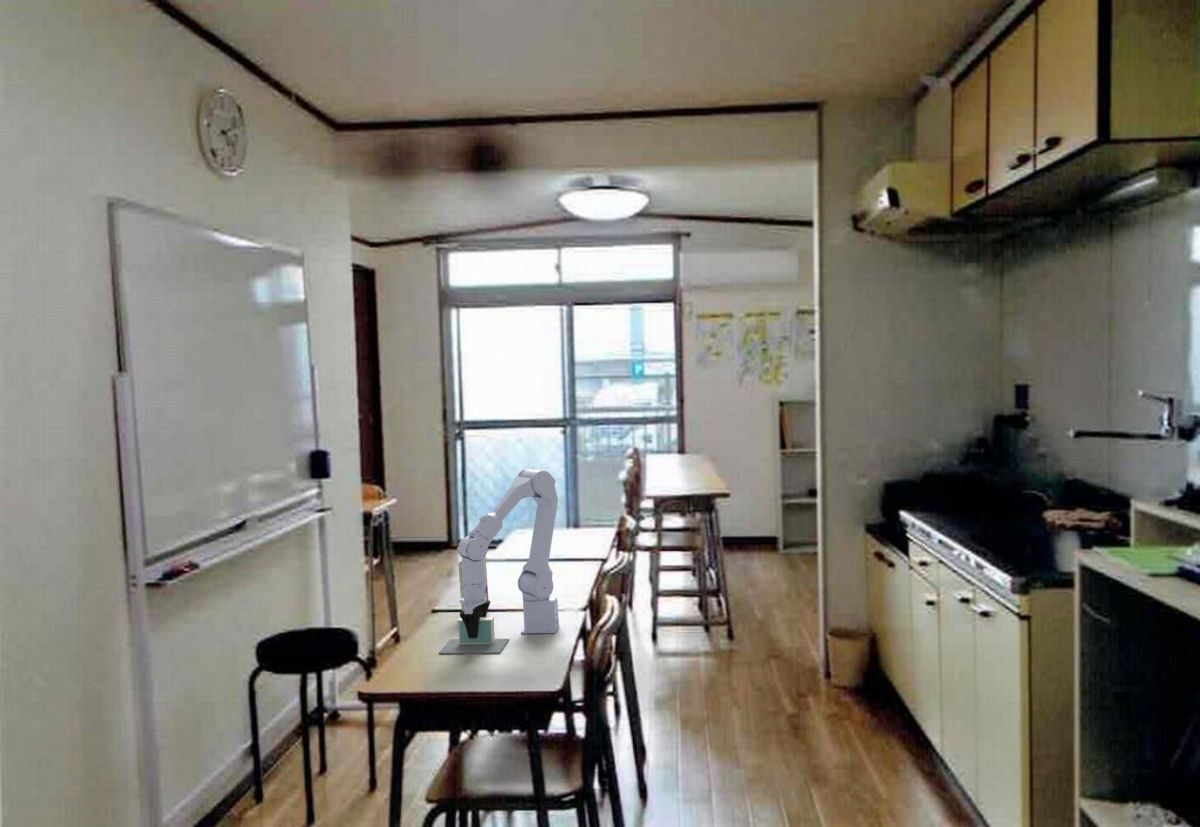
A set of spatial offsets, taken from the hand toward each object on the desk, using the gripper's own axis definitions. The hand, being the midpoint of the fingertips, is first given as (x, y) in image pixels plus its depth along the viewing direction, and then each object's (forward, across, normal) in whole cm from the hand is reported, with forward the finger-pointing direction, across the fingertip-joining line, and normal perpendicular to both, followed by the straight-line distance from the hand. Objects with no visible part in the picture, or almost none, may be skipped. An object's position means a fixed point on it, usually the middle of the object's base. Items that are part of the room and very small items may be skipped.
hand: (476, 633), depth 232 cm
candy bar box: (+3, -30, -8) cm, 31 cm away
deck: (+2, 0, 0) cm, 2 cm away
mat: (+3, +2, 0) cm, 4 cm away
